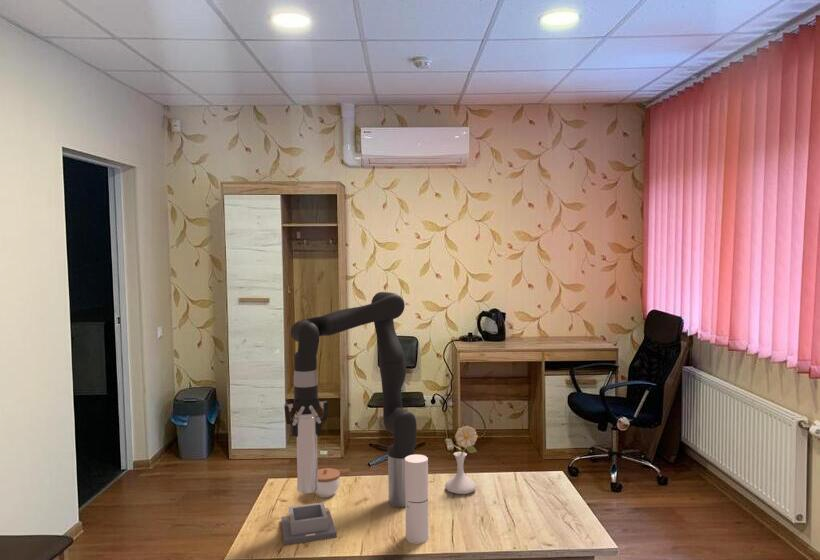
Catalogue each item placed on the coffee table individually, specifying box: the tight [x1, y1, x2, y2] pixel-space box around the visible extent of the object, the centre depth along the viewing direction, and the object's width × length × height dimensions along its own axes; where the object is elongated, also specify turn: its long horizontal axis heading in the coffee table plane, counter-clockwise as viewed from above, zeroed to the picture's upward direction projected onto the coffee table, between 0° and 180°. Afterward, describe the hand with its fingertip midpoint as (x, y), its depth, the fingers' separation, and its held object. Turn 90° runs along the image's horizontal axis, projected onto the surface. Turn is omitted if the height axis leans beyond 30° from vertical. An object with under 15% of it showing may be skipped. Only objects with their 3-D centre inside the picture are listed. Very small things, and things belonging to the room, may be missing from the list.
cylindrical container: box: [404, 454, 430, 544], centre depth 174 cm, size 7×7×25 cm
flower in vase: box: [444, 425, 479, 495], centre depth 209 cm, size 13×11×25 cm
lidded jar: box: [314, 467, 341, 499], centre depth 208 cm, size 11×11×9 cm
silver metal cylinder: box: [296, 414, 319, 494], centre depth 180 cm, size 6×6×25 cm
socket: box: [280, 502, 337, 546], centre depth 181 cm, size 16×16×6 cm
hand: (306, 435), depth 180 cm, fingers closed on silver metal cylinder, 6 cm apart
